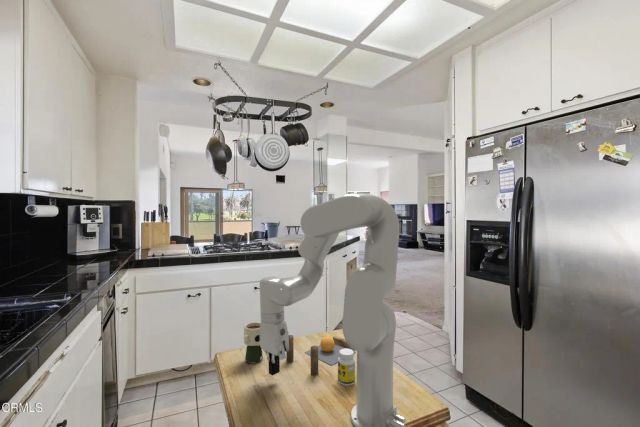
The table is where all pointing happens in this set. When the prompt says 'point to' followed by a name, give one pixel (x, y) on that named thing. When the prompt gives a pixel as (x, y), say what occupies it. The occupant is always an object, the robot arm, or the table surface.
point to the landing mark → (329, 354)
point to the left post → (290, 350)
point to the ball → (327, 344)
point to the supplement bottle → (346, 367)
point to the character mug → (252, 342)
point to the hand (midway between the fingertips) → (274, 372)
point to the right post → (314, 360)
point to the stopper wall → (341, 342)
